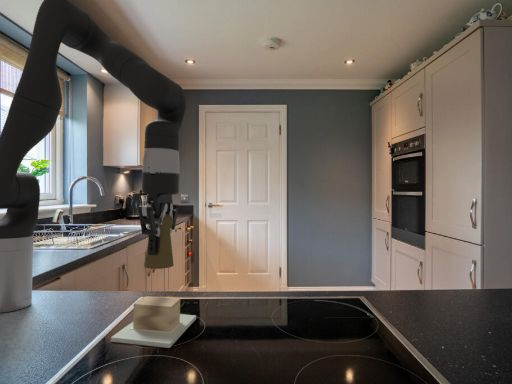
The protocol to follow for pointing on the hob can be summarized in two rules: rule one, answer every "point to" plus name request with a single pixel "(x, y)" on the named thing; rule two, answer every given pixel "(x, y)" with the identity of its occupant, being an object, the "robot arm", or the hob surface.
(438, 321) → the hob surface
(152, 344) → the board
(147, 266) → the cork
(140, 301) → the oak block
